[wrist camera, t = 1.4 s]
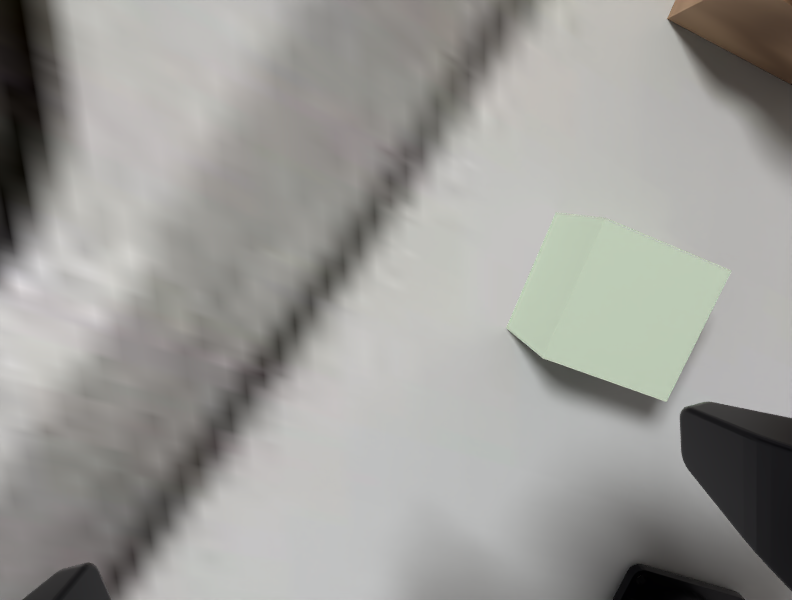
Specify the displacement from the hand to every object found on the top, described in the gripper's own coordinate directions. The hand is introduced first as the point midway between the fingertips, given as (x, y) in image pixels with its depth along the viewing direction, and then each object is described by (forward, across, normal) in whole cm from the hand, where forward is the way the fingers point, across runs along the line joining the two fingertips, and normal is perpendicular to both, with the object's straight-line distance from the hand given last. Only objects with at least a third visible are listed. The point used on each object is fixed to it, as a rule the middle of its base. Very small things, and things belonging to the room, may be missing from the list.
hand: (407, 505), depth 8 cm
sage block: (+13, -9, +2) cm, 16 cm away
